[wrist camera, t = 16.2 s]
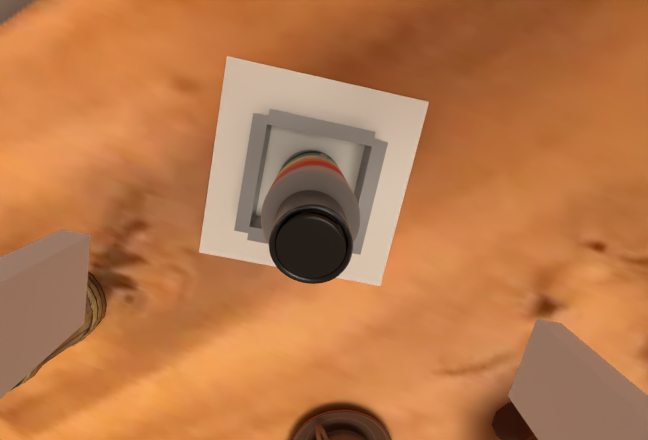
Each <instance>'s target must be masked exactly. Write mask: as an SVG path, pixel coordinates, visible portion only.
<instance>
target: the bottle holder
mask: <svg viewBox="0 0 648 440" xmlns="http://www.w3.org/2000/svg"><path fill="white" fill-rule="evenodd" d="M428 104H429V102H427V101H423V100H418V99H414V98H410V97H405V96H401V95H396V94H392V93H388V92H383V91H379V90H374V89H370V88H366V87H361V86H357V85H353V84H348V83H344V82H339V81H335V80H331V79H326V78H322V77H317V76H313V75H309V74H304V73H300V72H295V71H291V70H287V69H282V68H278V67H273V66H269V65H265V64H260V63H256V62H251V61H247V60H243V59H238V58H234V57H229V56H227V60H226V67H225V74H224V81H223V88H222V95H221V102H220V109H219V116H218V123H217V130H216V137H215V144H214V151H213V158H212V165H211V172H210V179H209V186H208V193H207V200H206V207H205V214H204V221H203V228H202V235H201V242H200V249H199V252H200V253H205V254H211V255H216V256H221V257H227V258H232V259H237V260H243V261H248V262H254V263H259V264H264V265H270V266H275V267H277V266H276V265H275V264H274V262H273V260H272V258H271V255H270V251H269V245H268V243H267V241H266V239H265V237H264V234H263V231H262V226H261V210H262V206H263V203H264V200H265V197H266V195H267V193H268V191H269V189H270V187H271V186H272V184H273V182H274V180H275V178H276V177H277V175H278V173H279V171H280V169H281V168H282V166H283V164H284V163H285V162H286V161H287V159H288V158H290V157H291V156H292V155H294V154H295V153H297V152H300V151H303V150H317V151H320V152H323V153H325V154H327V155H328V156H329V157H331V158H332V159H333V160H334V161H335V163H336V164H337V165H338V167H339V169H340V170H341V172H342V174H343V176H344V177H345V179H346V181H347V183H348V184H349V186H350V188H351V190H352V191H353V193H354V195H355V197H356V200H357V202H358V205H359V210H360V227H359V231H358V235H357V237H356V239H355V241H354V243H353V252H352V256H351V260H350V262H349V264H348V266H347V267H346V269H345V270H344V271H343V272H342V273H341V274H340V275H339V276H337V277H336V278H340V279H345V280H350V281H356V282H361V283H366V284H372V285H377V286H380V285H381V281H382V278H383V274H384V270H385V266H386V263H387V259H388V255H389V251H390V247H391V244H392V240H393V236H394V232H395V229H396V225H397V221H398V217H399V214H400V210H401V206H402V202H403V199H404V195H405V191H406V187H407V183H408V180H409V176H410V172H411V168H412V165H413V161H414V157H415V153H416V150H417V146H418V142H419V138H420V134H421V131H422V127H423V123H424V119H425V116H426V112H427V108H428Z"/></svg>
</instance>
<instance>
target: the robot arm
mask: <svg viewBox="0 0 648 440" xmlns="http://www.w3.org/2000/svg"><path fill="white" fill-rule="evenodd" d="M90 239H91V235H89V234H84V233H79V232H73V231H68V230H63V229H62V230H60V231H58V232H55V233H53V234H51V235H49V236H47V237H44V238H42V239H40V240H38V241H35V242H33V243H31V244H29V245H26V246H24V247H22V248H20V249H18V250H15V251H13V252H11V253H9V254H6V255H4V256H2V257H0V399H1V398H2V397H3V396H4V395H6V394H7V393H8V392H9V391H10V390H11V389H12V388H13V387H14V386H16V385H17V384H18V383H19V382H20V381H21V380H22V379H23V378H24V377H26V376H27V375H28V374H29V373H30V372H31V371H32V370H33V369H34V368H35V367H37V366H38V365H39V364H40V363H41V362H42V361H43V360H44V359H45V358H47V357H48V356H49V355H50V354H51V353H52V352H53V351H54V350H55V349H57V348H58V347H59V346H60V345H61V344H62V343H63V342H64V341H65V340H67V339H68V338H69V337H70V336H71V335H72V334H73V333H74V332H75V331H77V330H78V329H79V328H80V327H81V326H82V325H83V324H84V322H85V308H86V294H87V281H88V267H89V253H90ZM508 397H509V398H510V400H511V401H512V403H513V404H514V406H515V407H516V408H517V410H518V411H519V413H520V414H521V416H522V417H523V419H524V420H525V421H526V423H527V424H528V426H529V427H530V429H531V430H532V432H533V433H534V434H535V436H536V437H537V439H538V440H648V396H647V395H646V394H645V393H644V392H642V391H641V390H640V389H639V388H638V387H636V386H635V385H634V384H633V383H632V382H630V381H629V380H628V379H627V378H626V377H624V376H623V375H622V374H621V373H620V372H619V371H617V370H616V369H615V368H614V367H613V366H611V365H610V364H609V363H608V362H607V361H605V360H604V359H603V358H602V357H601V356H599V355H598V354H597V353H596V352H595V351H593V350H592V349H591V348H590V347H589V346H587V345H586V344H585V343H584V342H583V341H581V340H580V339H579V338H578V337H577V336H575V335H574V334H573V333H572V332H571V331H570V330H568V329H567V328H566V327H565V326H564V325H562V324H561V323H557V322H552V321H546V320H541V319H537V320H536V323H535V325H534V328H533V331H532V333H531V336H530V339H529V341H528V344H527V347H526V349H525V352H524V355H523V357H522V360H521V363H520V365H519V368H518V370H517V373H516V376H515V378H514V381H513V384H512V386H511V389H510V392H509V394H508Z"/></svg>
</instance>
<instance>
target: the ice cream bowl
mask: <svg viewBox="0 0 648 440" xmlns="http://www.w3.org/2000/svg"><path fill="white" fill-rule="evenodd" d="M492 426H493V428H494V431H495V433H496V436H498V437H499V438H500V439H502V440H538V439H537V437H536V436H535V434H534V433H533V432H532V430H531V429H530V427H529V426H528V424H527V423H526V421H525V420H524V419H523V417H522V416H521V414H520V413H519V411H518V410H517V408H516V407H515V406H514V404H513V403H508V404H507V405H505V406H504V407H503V408H501V409H500V410H499V411H497V412H496V415H495V417H494V420H493V423H492Z"/></svg>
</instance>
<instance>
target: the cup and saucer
mask: <svg viewBox="0 0 648 440" xmlns="http://www.w3.org/2000/svg"><path fill="white" fill-rule="evenodd" d="M292 440H391V437H390V436H389V434H388V432H387V431H386V429H385V428H384V427H383V426H382V425H381V424H380V423H379V422H378V421H377V420H375V419H374V418H372V417H371V416H369V415H366V414H364V413H361V412H358V411H352V410H333V411H328V412H324V413H322V414H319V415H317V416H315V417H313V418H311V419H309V420H308V421H307V422H305V423H304V424H303V425H302V426H301V427H300V428H299V429H298V430H297V432H296V433H295V435H294V436H293V438H292Z"/></svg>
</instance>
